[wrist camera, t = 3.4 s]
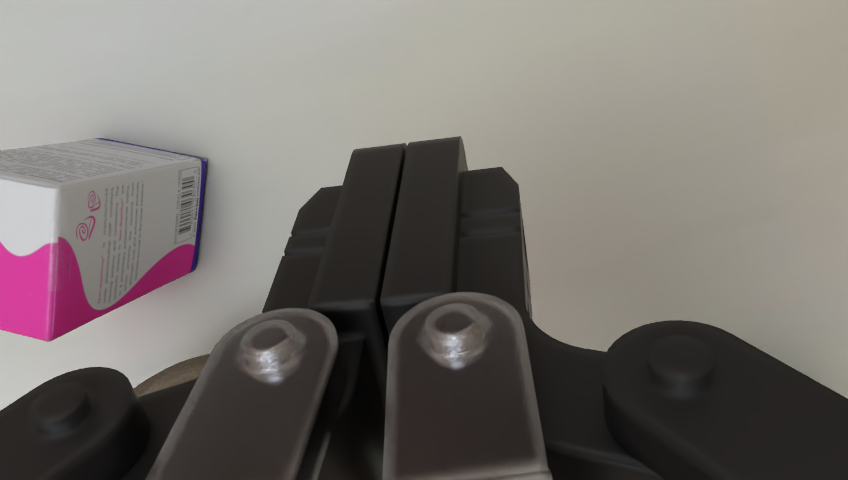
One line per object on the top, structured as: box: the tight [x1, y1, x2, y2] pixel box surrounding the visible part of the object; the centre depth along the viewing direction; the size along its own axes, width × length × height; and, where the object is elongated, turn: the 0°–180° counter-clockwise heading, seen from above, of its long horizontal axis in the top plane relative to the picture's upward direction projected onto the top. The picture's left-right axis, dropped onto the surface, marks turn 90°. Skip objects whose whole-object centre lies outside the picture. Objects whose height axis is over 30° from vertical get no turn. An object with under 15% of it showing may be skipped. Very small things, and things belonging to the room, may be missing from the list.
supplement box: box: [0, 138, 207, 342], centre depth 33 cm, size 6×6×12 cm
